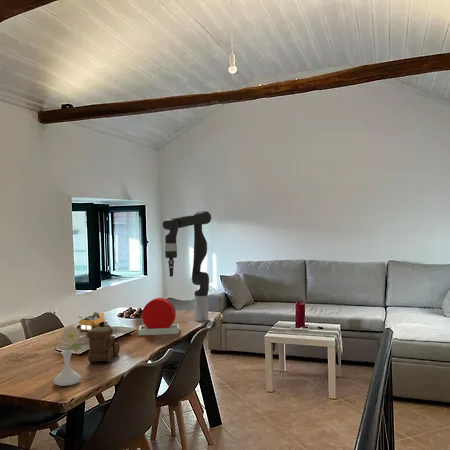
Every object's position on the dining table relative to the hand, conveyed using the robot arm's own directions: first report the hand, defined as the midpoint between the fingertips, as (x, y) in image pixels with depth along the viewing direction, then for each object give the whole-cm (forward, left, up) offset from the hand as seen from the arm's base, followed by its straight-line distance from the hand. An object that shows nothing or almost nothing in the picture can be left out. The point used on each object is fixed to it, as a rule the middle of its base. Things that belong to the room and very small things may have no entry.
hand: (171, 275), depth 282 cm
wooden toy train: (+56, -34, -34) cm, 74 cm away
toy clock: (+8, -8, -33) cm, 35 cm away
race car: (-5, -51, -34) cm, 62 cm away
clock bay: (+8, -8, -34) cm, 36 cm away
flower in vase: (+87, -44, -34) cm, 103 cm away
